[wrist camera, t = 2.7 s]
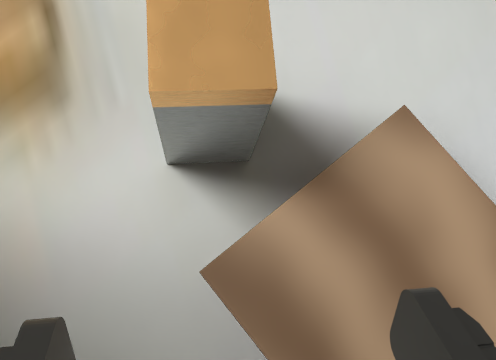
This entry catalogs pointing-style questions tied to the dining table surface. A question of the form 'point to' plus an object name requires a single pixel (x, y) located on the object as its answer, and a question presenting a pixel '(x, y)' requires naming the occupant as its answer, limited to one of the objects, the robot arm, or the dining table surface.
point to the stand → (363, 250)
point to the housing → (210, 76)
